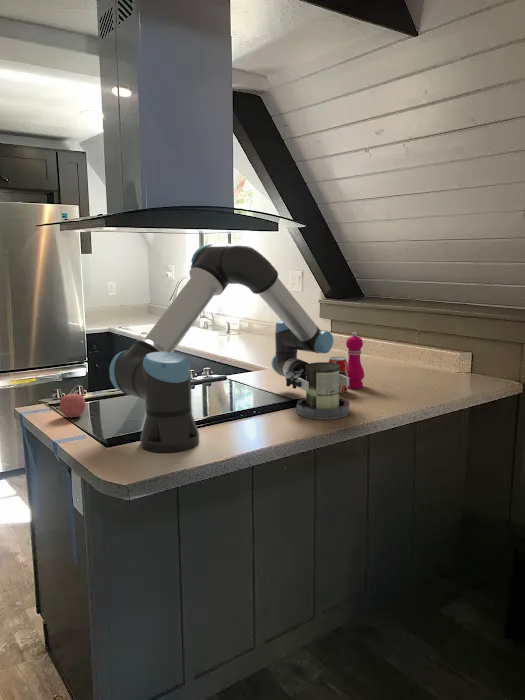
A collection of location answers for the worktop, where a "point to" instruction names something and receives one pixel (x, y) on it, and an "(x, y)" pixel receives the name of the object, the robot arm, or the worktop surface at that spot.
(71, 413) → the apple
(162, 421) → the robot arm
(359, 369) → the pepper mill
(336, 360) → the soda can
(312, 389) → the coffee can
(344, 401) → the ring
